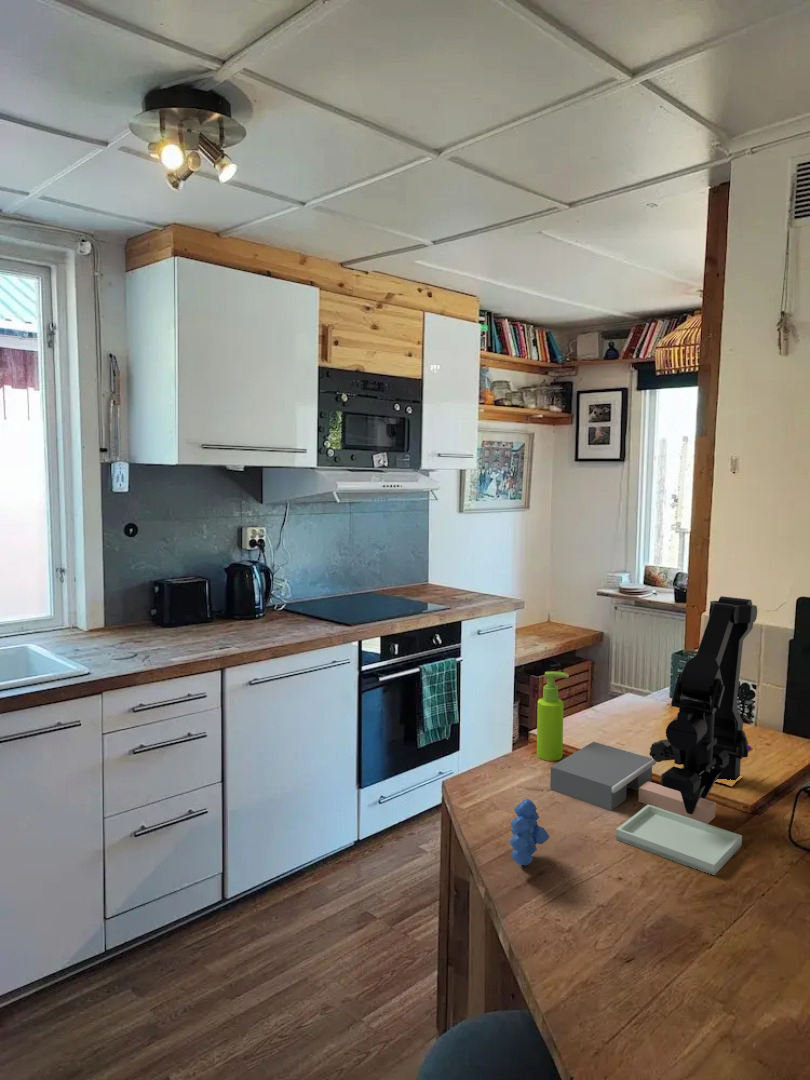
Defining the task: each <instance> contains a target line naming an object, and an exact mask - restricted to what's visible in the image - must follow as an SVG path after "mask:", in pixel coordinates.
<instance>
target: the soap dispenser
mask: <svg viewBox="0 0 810 1080" xmlns="http://www.w3.org/2000/svg"><path fill="white" fill-rule="evenodd" d="M569 676H570V675H569V673H567V672H562V671H545V672H544V677H546V684H545V685H543V687H542V689H543V690H542V693H543V694H542V697H541V698H538V700H537V709H536V711H537V713H536V715H537V717H536V723H537V724H536V757H537V758H538V759H540V760H541V761H548V762H549V761H550V762H555V761H561V760H562V758H563V754H564V753H563V747H564V746H563V743H564V703H565V701H564V700H562V699H560V698H559V686H558V685H556V683H555V680H556V677H557V678H565V679H568V678H569Z"/></svg>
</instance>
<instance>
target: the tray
mask: <svg viewBox="0 0 810 1080" xmlns="http://www.w3.org/2000/svg"><path fill="white" fill-rule="evenodd" d="M615 840H616V841H618V842H622V843H625V844H628V845H630V846H632V847H635V848H638V849H641V850H644V851H646V852H649V853H650V854H654V855H656V856H659V857H662V858H664V859H667V860H670V861H672V860H673V862H676V863H678V864H681V865H683V866H686V867H688V866H690V867H689V868H691V867H692V869H694V868H695V870H696V869H698V870H697V871H699V870H700V871H699V872H702V871H703V872H702V873H704V872H706V873H705V874H707V873H709V874H708V875H710V874H712V875H714V876H716V874H718V872H719V871H720V870H721V869H722V868H723V867H724V866H725V864H727V862H728V861H729V860H730V859H731V858H732V857H733V856H734V855H735V854H736V853H737V852H738V850H739V849H741V847H742V841H743V835H741V834H739V833H736V832H732V831H729V830H726V829H723V828H720V827H718V826H714V825H712V824H709V823H708V824H706V823H703V822H700V821H697V820H694V819H691V818H688V817H685V816H682V815H679V814H676V813H673V812H670V811H667V810H664V809H661V808H658V807H655V806H652V805H647V804H645V806H644V807H643V808H641V809H640V810H638V812H636V813H635V814H634V815H632V816H631V817H630V818H628V819H627V820H626V821H625V822H624V823H622V824H621V825H620V826H618V827H616V829H615ZM712 875H711V876H712Z"/></svg>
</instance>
